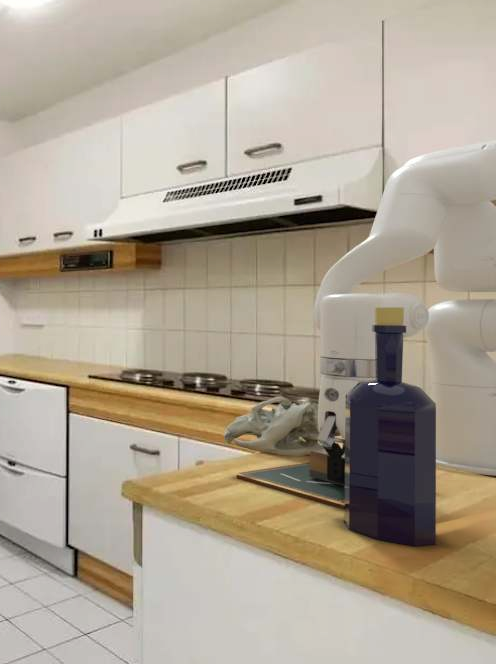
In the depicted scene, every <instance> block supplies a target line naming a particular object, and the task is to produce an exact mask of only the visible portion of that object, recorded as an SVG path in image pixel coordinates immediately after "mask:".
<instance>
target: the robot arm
mask: <svg viewBox="0 0 496 664" xmlns="http://www.w3.org/2000/svg"><path fill="white" fill-rule="evenodd" d="M495 200H496V139H493V140H487V141H483V142H478V143H472V144H466V145H462V146H456V147H449V148H445V149H441V150H436V151H432V152H428V153H425V154H421V155H419V156H416V157H413V158H411V159H410V160H407V161H406V162H405V163H404V164H403V166H402V167H399V168H398V169H396V170H395V171H394V172H393V173H392V174H391V175H390V176H389V178H388V179H387V181H386V184H385V186H384V190H383V193H382V196H381V199H380V202H379V205H378V209H377V211H376V214H375V217H374V220H373V224H372V226H371V229H370V232H369V235H368V237H367V238H366V239H365V240H364V241H362V242H361V243H359V244H358V245H356V246H354V247H353V248H352V249H351V250H349V251H348V252H347V253H346V254H344V255H343V256H342V257H341V258H339V260H338V261H336V263H334V264H333V265H332V266H331V267H330V268H329V270H328V271H326V274H325V275H324V277H323V278H322V281H321V283H320V286H319V288H318V292H317V294H316V297H315V302H314V306H313V311H312V314H313V321H314V324H315V326H316V328H317V329H318V330H319V331H320V344H319V345H320V353H319V354H320V355H319V356H320V357H319V359H320V360H319V363H320V364H319V376H320V377H321V382H320V387H319V394H318V395H319V396H318V403H317V404H318V430H319V433H320V434H319V436H318V443H319V444H320V445H322V446H323V447H324V449H325V455H326V456H327V479H328V480H330V481H334V482H338V483H342V484H345V410H346V394H347V393H348V392H349V391H350V390H351V389H352V388H354V387H355V386H356V385H357V384H358V383H359V382H365V381H372V380H376V365H375V332H372V325H375V308H385V307H400V308H404V321H403V325H404V326H406V333H403V339H405V338H410V337H414V336H416V335H418V334H419V333H421V332H422V331H423V330H424V333H425V337H426V341H427V344H428V345H427V346H428V351H429V363H430V398H431V399H432V400H433V401H434V402H435V403H436V467H439V468H444V469H449V470H454V471H460V472H463V473H469V474H475V475H481V476H490V477H491V476H492V477H493V476H494V477H496V361H495V360H494V359H493V358H492V357H491V356H490V355H489V354H488V353H493V352H494V353H495V352H496V299H495V298H490V299H489V298H486V299H485V298H484V299H482V298H479V299H477V298H476V299H475V298H474V299H471V298H470V299H452V300H446V301H441V302H439V303H438V302H437V303H436V304H434V305H432V306H431V307H429V308H428V306H427V305H426V303H425V302H424V301H423V299H421V298H419V297H418V296H416V295H413V294H409V293H405V292H354V291H355V289H356V288H357V287H358V286H359V285H360V284H362V283H363V282H364V281H366V280H367V279H370V278H371V277H373V276H375V275H376V274H379V273H382V272H384V271H386V270H389V269H392V268H395V267H398V266H400V265H403V264H405V263H408V262H410V261H414V260H415V259H418V258H420V257H423V256H425V255H426V254H429V253H430V252H431V251H432V250H433V265H434V266H433V268H434V269H433V270H434V277H435V282H436V284H437V285H438V287H439V288H441V289H442V290H444V291H448V292H455V293H496V205H495V204H494V203H493V202H492V201H495ZM487 352H488V353H487ZM339 437H341V438H339ZM339 443H340V444H342V447H341V445H340V444H339Z"/></svg>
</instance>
